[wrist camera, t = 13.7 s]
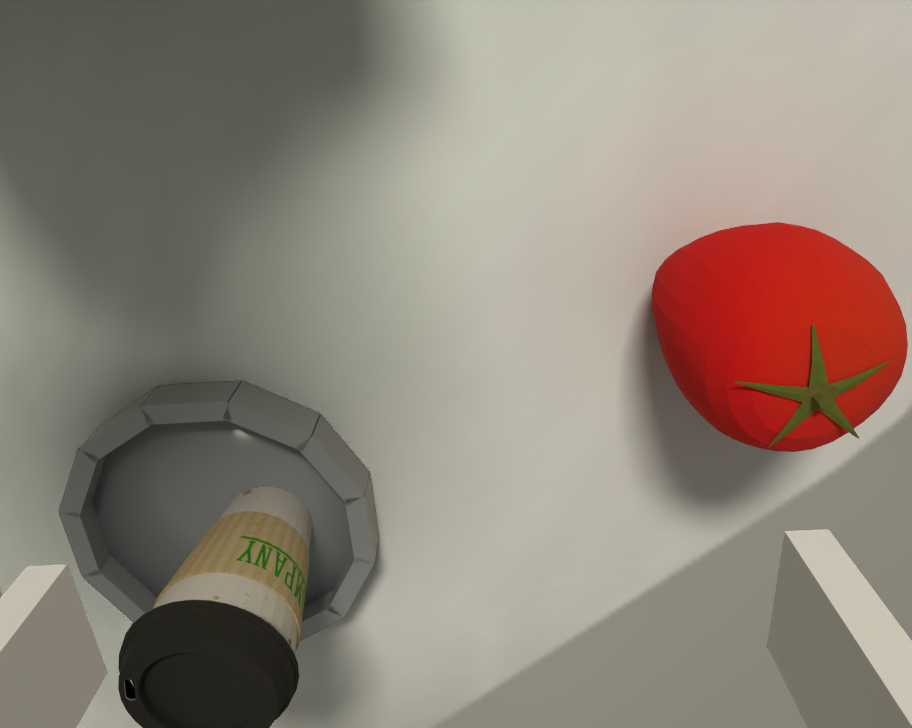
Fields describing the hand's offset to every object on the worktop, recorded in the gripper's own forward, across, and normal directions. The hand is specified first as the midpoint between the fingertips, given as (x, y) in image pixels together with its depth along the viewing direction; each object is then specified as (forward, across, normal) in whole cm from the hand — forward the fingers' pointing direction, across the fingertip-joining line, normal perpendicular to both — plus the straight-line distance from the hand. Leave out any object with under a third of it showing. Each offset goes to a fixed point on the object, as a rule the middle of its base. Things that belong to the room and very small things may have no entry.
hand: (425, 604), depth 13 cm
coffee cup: (+32, -15, -21) cm, 41 cm away
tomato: (+33, +17, -6) cm, 37 cm away
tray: (+33, -18, -21) cm, 43 cm away
